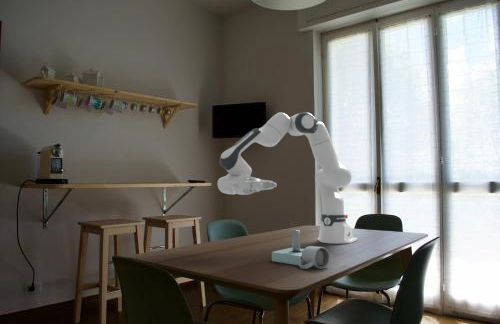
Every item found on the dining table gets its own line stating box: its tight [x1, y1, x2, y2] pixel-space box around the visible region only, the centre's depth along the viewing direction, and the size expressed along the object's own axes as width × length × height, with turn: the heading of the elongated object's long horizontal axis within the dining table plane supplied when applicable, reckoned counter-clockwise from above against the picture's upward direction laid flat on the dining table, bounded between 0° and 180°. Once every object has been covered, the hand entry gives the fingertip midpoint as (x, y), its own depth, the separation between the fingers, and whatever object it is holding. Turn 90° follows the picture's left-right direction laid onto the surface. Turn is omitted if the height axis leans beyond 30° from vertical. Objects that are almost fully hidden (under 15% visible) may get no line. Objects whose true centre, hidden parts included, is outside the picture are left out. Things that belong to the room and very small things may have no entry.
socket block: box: [271, 247, 306, 266], centre depth 154 cm, size 14×14×4 cm
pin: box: [291, 229, 301, 253], centre depth 155 cm, size 3×3×12 cm
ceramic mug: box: [298, 245, 330, 270], centre depth 142 cm, size 11×8×8 cm
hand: (268, 185), depth 169 cm, fingers open, 8 cm apart
